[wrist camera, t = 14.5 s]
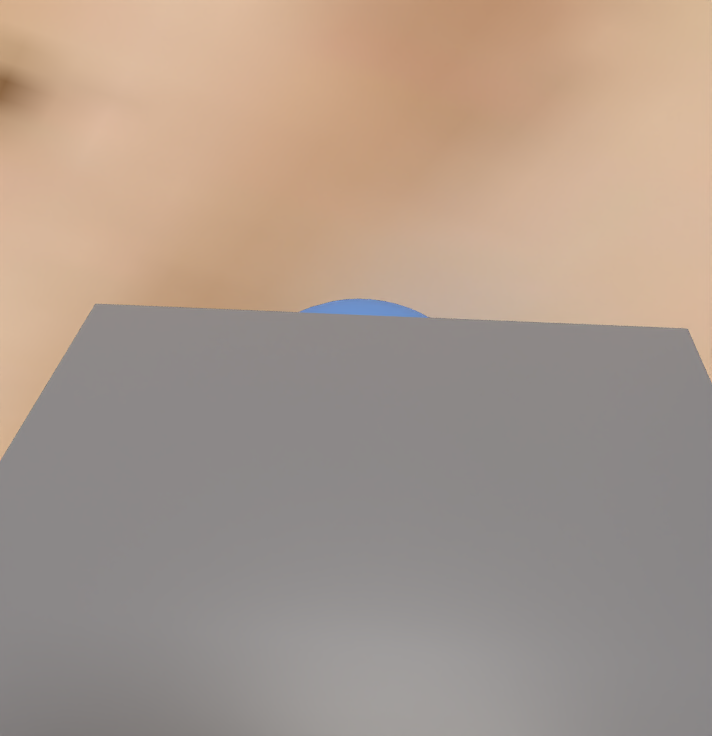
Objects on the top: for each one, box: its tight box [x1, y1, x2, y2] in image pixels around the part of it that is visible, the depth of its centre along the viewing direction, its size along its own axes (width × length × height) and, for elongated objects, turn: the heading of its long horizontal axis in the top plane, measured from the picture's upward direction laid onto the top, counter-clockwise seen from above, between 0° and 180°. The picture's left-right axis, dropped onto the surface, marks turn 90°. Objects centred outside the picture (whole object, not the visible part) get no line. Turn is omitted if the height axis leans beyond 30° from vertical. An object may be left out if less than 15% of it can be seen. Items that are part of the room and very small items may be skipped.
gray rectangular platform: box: [0, 304, 712, 736], centre depth 7 cm, size 8×8×7 cm
